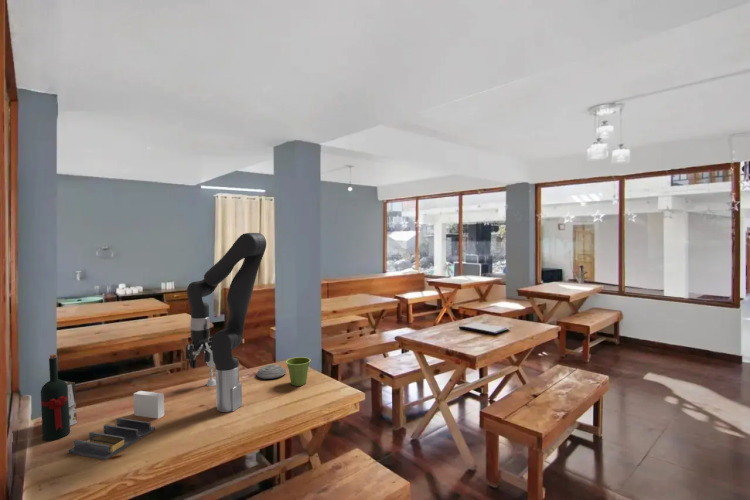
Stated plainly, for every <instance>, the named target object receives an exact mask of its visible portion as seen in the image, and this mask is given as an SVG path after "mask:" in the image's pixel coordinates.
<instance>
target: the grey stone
mask: <svg viewBox="0 0 750 500" xmlns="http://www.w3.org/2000/svg"><path fill="white" fill-rule="evenodd" d="M285 374H287V369H286V368H285V367H284V366H282V365H279V364H269V365H265V366H263V367H261V368H259V369H258V371H257V372H256V374H255V375H256V376H257V377H258V378H260V379H265V380H266V379H267V380H269V379H270V380H271V379H276V378H280V377H283V376H284V375H285Z"/></svg>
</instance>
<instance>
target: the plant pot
mask: <svg viewBox="0 0 750 500" xmlns="http://www.w3.org/2000/svg"><path fill="white" fill-rule="evenodd" d="M311 361H312V360H311V358H309V357H305V356H304V357H302V356H301V357H300V356H298V357H292V358H288V359H287V360H286V361H285V363H286V365H287V369H288V374H289V379H290V384H291V385H292V386H296V387H302V386H304V385H306V384H307V380H308V373H309V367H310V362H311Z"/></svg>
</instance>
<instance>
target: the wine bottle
mask: <svg viewBox="0 0 750 500" xmlns="http://www.w3.org/2000/svg"><path fill="white" fill-rule="evenodd" d="M57 359H58V357H57V354H56V353H53V354H52V353H51V354H49V358H48V366H49V370H48V371H49V380H48V381H47V382H46V383H44V384H43V387H42V386H41V390H40V405H41V429H42V441H45V442H53V441H58V440H61V439H63V438H66V437H68V436H69V435H70V434H71V426H70V419H69V402H68V385H67V383H66V382H65V381H66V380H64V379H63V380H62V379H60V378H59V377H58V376H59V375H58V360H57Z"/></svg>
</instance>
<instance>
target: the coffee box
mask: <svg viewBox="0 0 750 500" xmlns="http://www.w3.org/2000/svg"><path fill="white" fill-rule="evenodd" d="M64 381H65V382H66V383H67V385H68V402H69V419H70V427H71V426H74V425H75V424H77V421H78V420H77V419H78V417H77V400H76V398H77V396H76V382H75V381H74V382H73V381H68V380H67V381H66V380H64ZM43 386H44V385H43ZM43 386H41V388H42V387H43Z"/></svg>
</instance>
